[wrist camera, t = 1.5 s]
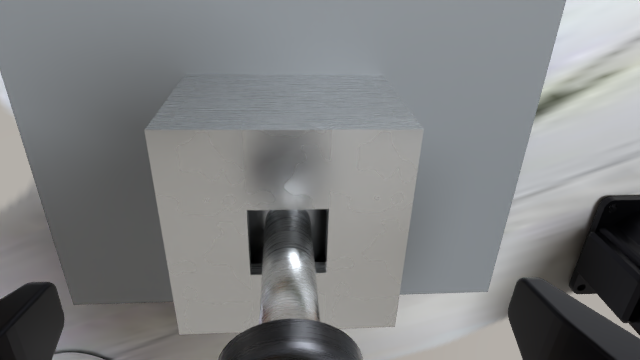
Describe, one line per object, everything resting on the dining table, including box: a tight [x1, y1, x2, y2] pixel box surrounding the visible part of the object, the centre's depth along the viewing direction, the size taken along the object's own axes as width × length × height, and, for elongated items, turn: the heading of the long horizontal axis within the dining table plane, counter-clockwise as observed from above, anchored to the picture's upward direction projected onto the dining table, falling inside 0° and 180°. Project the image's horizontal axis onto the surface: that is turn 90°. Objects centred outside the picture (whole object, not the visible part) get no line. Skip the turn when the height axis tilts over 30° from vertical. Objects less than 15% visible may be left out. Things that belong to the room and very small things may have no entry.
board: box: [0, 0, 566, 305], centre depth 21 cm, size 22×16×2 cm
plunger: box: [218, 209, 363, 360], centre depth 12 cm, size 6×6×9 cm
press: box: [144, 74, 424, 335], centre depth 17 cm, size 8×8×6 cm
